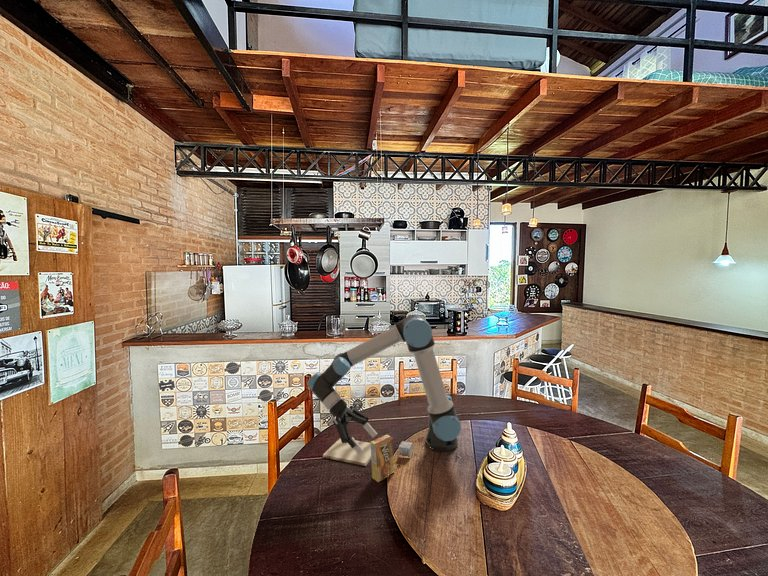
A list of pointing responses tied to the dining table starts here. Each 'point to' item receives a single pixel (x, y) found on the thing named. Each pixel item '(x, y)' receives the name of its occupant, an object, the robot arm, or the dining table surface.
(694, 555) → the dining table surface
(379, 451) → the candy box
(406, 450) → the metal block
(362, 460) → the birch board
